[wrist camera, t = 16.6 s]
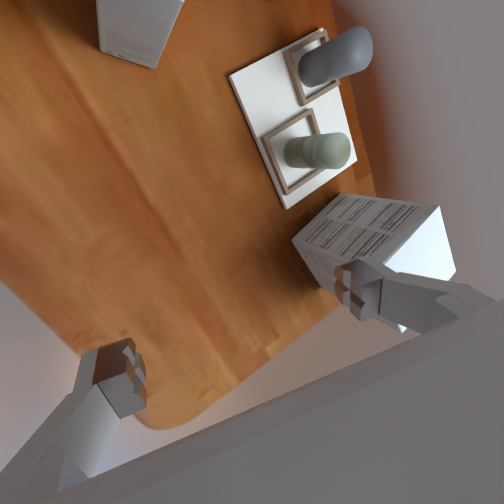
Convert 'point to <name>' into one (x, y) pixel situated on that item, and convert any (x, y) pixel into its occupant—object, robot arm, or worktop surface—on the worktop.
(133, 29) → the skincare box
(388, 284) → the robot arm
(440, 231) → the supplement box
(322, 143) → the sage pin
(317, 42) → the board
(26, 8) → the worktop surface
